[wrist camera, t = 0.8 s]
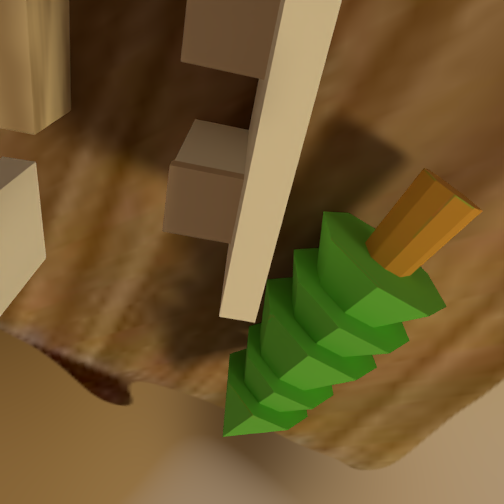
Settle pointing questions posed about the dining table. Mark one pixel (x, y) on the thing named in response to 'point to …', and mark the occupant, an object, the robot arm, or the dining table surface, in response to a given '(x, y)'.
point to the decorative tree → (341, 307)
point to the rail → (34, 63)
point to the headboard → (248, 133)
